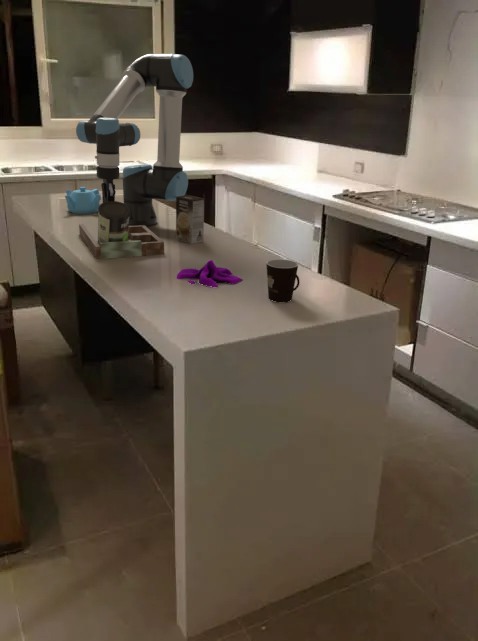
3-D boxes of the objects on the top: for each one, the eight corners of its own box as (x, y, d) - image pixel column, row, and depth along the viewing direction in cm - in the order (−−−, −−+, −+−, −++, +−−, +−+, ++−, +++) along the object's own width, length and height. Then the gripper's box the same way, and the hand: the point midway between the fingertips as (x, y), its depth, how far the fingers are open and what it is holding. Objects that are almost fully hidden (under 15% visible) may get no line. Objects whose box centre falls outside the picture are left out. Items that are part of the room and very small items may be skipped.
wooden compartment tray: (139, 231, 241) (139, 218, 239) (164, 254, 210) (164, 239, 208) (79, 234, 232) (78, 221, 231) (96, 259, 201) (95, 244, 200)
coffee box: (175, 239, 230) (174, 196, 224) (187, 237, 235) (187, 194, 229) (191, 244, 224) (192, 199, 219) (204, 241, 229) (205, 198, 223)
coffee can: (131, 240, 217) (134, 205, 208) (121, 255, 209) (123, 220, 200) (103, 232, 217) (105, 197, 208) (92, 247, 209) (93, 212, 200)
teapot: (102, 215, 268) (100, 189, 264) (66, 215, 265) (64, 190, 261) (101, 208, 282) (100, 184, 278) (67, 208, 279) (65, 184, 275)
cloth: (167, 273, 190) (167, 254, 188) (222, 268, 198) (223, 249, 196) (195, 295, 172) (195, 274, 170) (254, 288, 180) (255, 268, 177)
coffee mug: (262, 293, 174) (264, 259, 170) (293, 293, 174) (295, 259, 171) (268, 307, 163) (270, 271, 159) (300, 307, 164) (303, 271, 160)
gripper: (93, 163, 212) (94, 230, 221) (99, 168, 201) (101, 239, 210) (115, 163, 215) (116, 230, 223) (122, 169, 204) (123, 238, 213)
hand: (108, 234), depth 217 cm, fingers closed
